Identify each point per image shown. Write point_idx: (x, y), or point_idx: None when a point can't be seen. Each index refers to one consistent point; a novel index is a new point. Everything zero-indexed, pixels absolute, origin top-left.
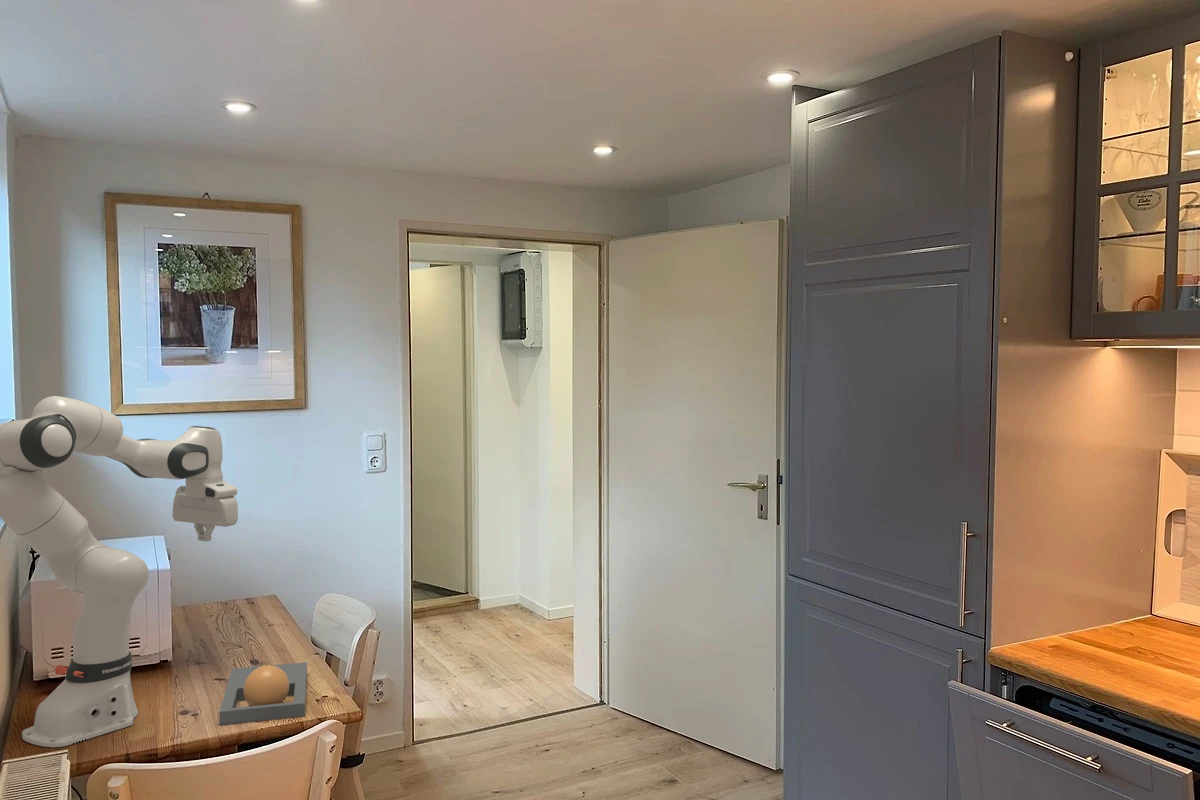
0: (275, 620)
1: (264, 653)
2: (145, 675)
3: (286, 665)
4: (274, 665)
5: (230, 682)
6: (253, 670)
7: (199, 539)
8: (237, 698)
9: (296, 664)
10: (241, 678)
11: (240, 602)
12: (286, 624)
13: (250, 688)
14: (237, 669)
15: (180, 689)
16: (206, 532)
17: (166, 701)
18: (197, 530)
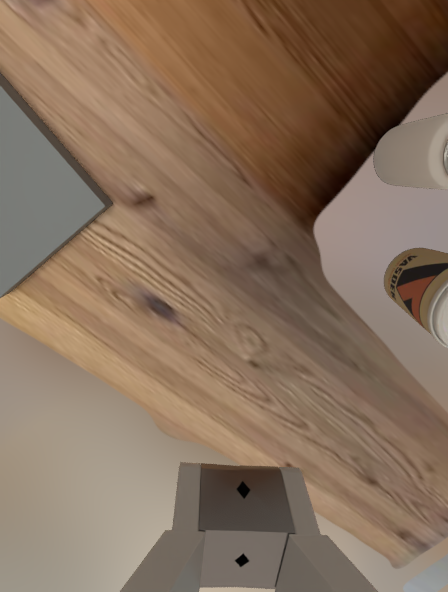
0: None
1: (180, 350)
2: (313, 156)
3: (15, 268)
4: (38, 258)
5: (27, 125)
6: (52, 215)
7: (276, 471)
8: None
9: (2, 281)
10: (28, 158)
11: (424, 530)
12: None
13: None
14: (90, 206)
15: (170, 112)
16: (142, 567)
17: (136, 31)
18: (338, 588)
